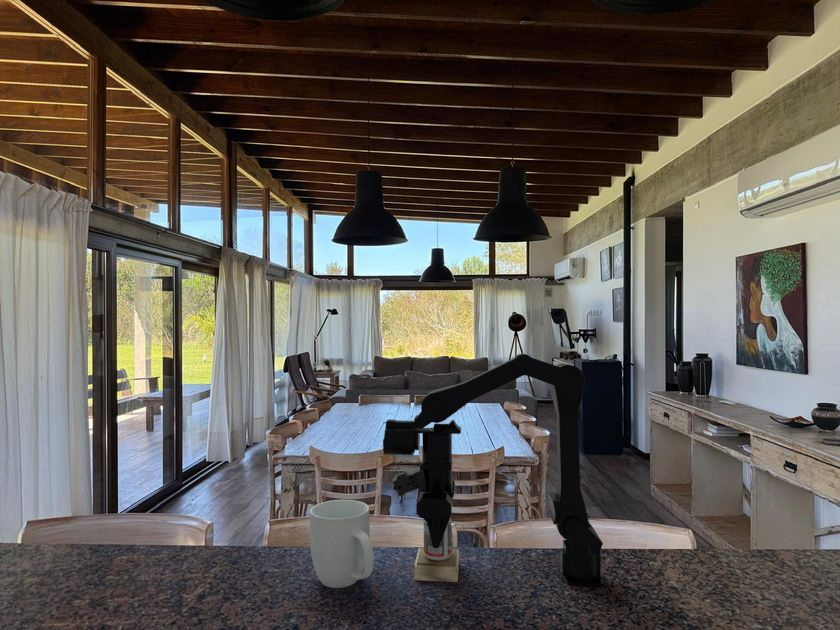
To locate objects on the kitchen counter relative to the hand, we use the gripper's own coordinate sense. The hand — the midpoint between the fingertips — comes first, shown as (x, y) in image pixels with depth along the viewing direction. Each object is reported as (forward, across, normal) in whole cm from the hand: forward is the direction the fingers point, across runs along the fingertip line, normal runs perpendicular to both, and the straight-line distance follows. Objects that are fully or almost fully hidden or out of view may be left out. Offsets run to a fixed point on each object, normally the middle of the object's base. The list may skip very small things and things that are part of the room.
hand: (437, 538), depth 98 cm
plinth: (+6, 0, 0) cm, 6 cm away
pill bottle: (+4, 0, 0) cm, 4 cm away
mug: (+6, +6, -17) cm, 19 cm away
